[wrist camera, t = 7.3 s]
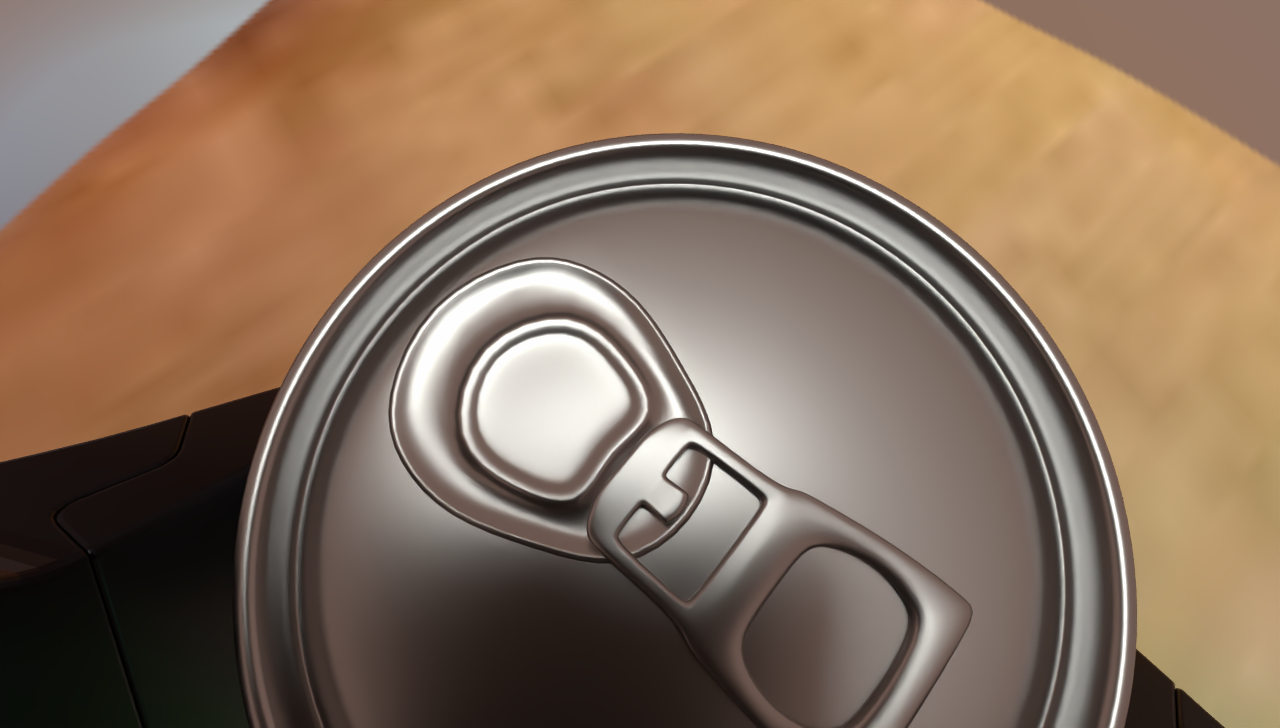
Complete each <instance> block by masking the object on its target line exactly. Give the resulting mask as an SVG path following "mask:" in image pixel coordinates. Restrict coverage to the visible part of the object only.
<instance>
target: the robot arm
mask: <svg viewBox="0 0 1280 728" xmlns="http://www.w3.org/2000/svg"><path fill="white" fill-rule="evenodd" d="M279 389H280V387H279V388H275V389H272V390H268V391H265V392H262V393H258V394H255V395H251V396H248V397H244V398H241V399H237V400H234V401H231V402H227V403H224V404H220V405H217V406H213V407H210V408H206V409H203V410H199V411H196V412H193V413H192V414H191V416H190V417H189V416H188V415H182V416H178V417H175V418H172V419H168V420H165V421H161V422H158V423H155V424H151V425H147V426H144V427H140V428H137V429H133V430H129V431H126V432H122V433H118V434H115V435H111V436H107V437H104V438H100V439H96V440H92V441H88V442H83V443H79V444H75V445H71V446H67V447H63V448H59V449H55V450H50V451H46V452H42V453H38V454H34V455H30V456H25V457H21V458H17V459H12V460H8V461H4V462H0V728H249V725H248V722H247V718H246V714H245V709H244V704H243V700H242V695H241V690H240V684H239V678H238V671H237V665H236V656H235V647H234V635H233V618H232V583H233V563H234V551H235V542H236V534H237V527H238V520H239V514H240V509H241V503H242V498H243V494H244V490H245V485H246V481H247V477H248V473H249V470H250V466H251V462H252V459H253V455H254V452H255V449H256V446H257V443H258V440H259V437H260V434H261V432H262V429H263V426H264V424H265V421H266V419H267V416H268V413H269V411H270V409H271V406H272V404H273V402H274V400H275V397H276V395H277V393H278V391H279ZM1124 728H1225V727H1223V726H1222V725H1221V724H1220V723H1219V722H1218V721H1217V720H1215V719H1214V718H1213V717H1212V716H1211V715H1210V714H1209V713H1208V712H1206V711H1205V710H1204V709H1203V708H1202V707H1201V706H1200V705H1199V704H1198V703H1196V702H1195V701H1194V700H1193V699H1192V698H1191V697H1190V696H1189V695H1188V694H1186V693H1185V692H1184V691H1183V690H1182V689H1179V688H1176V689H1175V684H1174V682H1173V681H1172V680H1171V679H1169V678H1168V677H1167V676H1166V675H1165V674H1164V673H1163V672H1162V671H1160V670H1159V669H1158V668H1157V667H1156V666H1155V665H1154V664H1153V663H1152V662H1150V661H1149V660H1148V659H1147V658H1146V657H1145V656H1144V655H1143V654H1141V653H1140V652H1139V651H1138V650H1137V649H1136V656H1135V666H1134V675H1133V684H1132V690H1131V696H1130V703H1129V708H1128V713H1127V718H1126V723H1125V727H1124Z"/></svg>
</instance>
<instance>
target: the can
mask: <svg viewBox="0 0 1280 728" xmlns="http://www.w3.org/2000/svg"><path fill="white" fill-rule="evenodd" d="M232 618H233V635H234V647H235V656H236V665H237V671H238V678H239V684H240V690H241V695H242V700H243V704H244V709H245V714H246V718H247V722H248V725H249V728H1124V727H1125V723H1126V718H1127V713H1128V708H1129V703H1130V696H1131V690H1132V684H1133V675H1134V666H1135V656H1136V639H1137V595H1136V579H1135V566H1134V558H1133V550H1132V542H1131V537H1130V531H1129V525H1128V519H1127V515H1126V510H1125V506H1124V501H1123V497H1122V493H1121V490H1120V486H1119V482H1118V478H1117V475H1116V472H1115V469H1114V465H1113V462H1112V459H1111V456H1110V453H1109V450H1108V448H1107V445H1106V442H1105V440H1104V437H1103V434H1102V432H1101V429H1100V427H1099V425H1098V422H1097V420H1096V417H1095V415H1094V413H1093V411H1092V409H1091V406H1090V404H1089V402H1088V400H1087V398H1086V396H1085V394H1084V392H1083V390H1082V388H1081V386H1080V384H1079V382H1078V380H1077V378H1076V377H1075V375H1074V373H1073V371H1072V370H1071V368H1070V366H1069V364H1068V363H1067V361H1066V359H1065V358H1064V356H1063V354H1062V353H1061V351H1060V350H1059V348H1058V347H1057V345H1056V343H1055V342H1054V340H1053V339H1052V338H1051V336H1050V335H1049V333H1048V332H1047V330H1046V329H1045V327H1044V326H1043V325H1042V323H1041V322H1040V321H1039V319H1038V318H1037V317H1036V315H1035V314H1034V313H1033V311H1032V310H1031V309H1030V308H1029V306H1028V305H1027V304H1026V303H1025V302H1024V300H1023V299H1022V298H1021V297H1020V296H1019V294H1018V293H1017V292H1016V291H1015V290H1014V289H1013V288H1012V286H1011V285H1010V284H1009V283H1008V282H1007V281H1006V280H1005V279H1004V278H1003V277H1002V275H1001V274H1000V273H999V272H998V271H997V270H996V269H995V268H994V267H993V266H992V265H991V264H990V263H989V262H988V261H987V260H985V259H984V258H983V257H982V256H981V255H980V254H979V253H978V252H977V251H976V250H975V249H974V248H972V247H971V246H970V245H969V244H968V243H967V242H965V241H964V240H963V239H962V238H961V237H960V236H958V235H957V234H956V233H955V232H953V231H952V230H951V229H949V228H948V227H947V226H946V225H944V224H943V223H942V222H940V221H939V220H937V219H936V218H935V217H933V216H932V215H931V214H929V213H928V212H926V211H925V210H923V209H922V208H920V207H919V206H917V205H916V204H914V203H913V202H911V201H909V200H908V199H906V198H904V197H903V196H901V195H899V194H898V193H896V192H894V191H892V190H890V189H889V188H887V187H885V186H883V185H881V184H879V183H877V182H875V181H873V180H871V179H869V178H867V177H865V176H863V175H861V174H859V173H857V172H854V171H852V170H850V169H847V168H845V167H843V166H840V165H838V164H835V163H833V162H830V161H827V160H825V159H822V158H819V157H816V156H813V155H810V154H807V153H803V152H800V151H797V150H793V149H790V148H786V147H782V146H778V145H774V144H769V143H764V142H759V141H754V140H748V139H742V138H736V137H727V136H719V135H706V134H684V133H671V134H645V135H634V136H625V137H617V138H610V139H604V140H599V141H593V142H588V143H584V144H579V145H575V146H571V147H567V148H563V149H560V150H556V151H553V152H550V153H546V154H543V155H540V156H537V157H534V158H532V159H529V160H526V161H523V162H521V163H518V164H516V165H513V166H511V167H509V168H506V169H504V170H501V171H499V172H497V173H495V174H493V175H491V176H489V177H487V178H484V179H482V180H481V181H479V182H477V183H475V184H473V185H471V186H469V187H467V188H466V189H464V190H462V191H460V192H459V193H457V194H455V195H454V196H452V197H450V198H449V199H447V200H446V201H444V202H442V203H441V204H439V205H438V206H436V207H435V208H433V209H432V210H430V211H429V212H428V213H426V214H425V215H423V216H422V217H421V218H419V219H418V220H417V221H415V222H414V223H413V224H411V225H410V226H409V227H408V228H406V229H405V230H404V231H402V232H401V233H400V234H399V235H398V236H397V237H395V238H394V239H393V240H392V241H391V242H390V243H388V244H387V245H386V246H385V247H384V248H383V249H382V250H381V251H380V252H379V253H378V254H377V255H375V256H374V257H373V258H372V259H371V260H370V261H369V262H368V263H367V264H366V265H365V266H364V267H363V269H362V270H361V271H360V272H359V273H358V274H357V275H356V276H355V277H354V278H353V279H352V280H351V282H350V283H349V284H348V285H347V286H346V287H345V288H344V290H343V291H342V292H341V293H340V294H339V296H338V297H337V298H336V299H335V301H334V302H333V303H332V304H331V306H330V307H329V308H328V310H327V311H326V312H325V314H324V315H323V316H322V318H321V319H320V321H319V322H318V323H317V325H316V326H315V328H314V329H313V331H312V332H311V334H310V335H309V337H308V338H307V340H306V342H305V343H304V345H303V347H302V348H301V350H300V351H299V353H298V355H297V356H296V358H295V360H294V362H293V364H292V365H291V367H290V369H289V371H288V373H287V375H286V377H285V379H284V381H283V383H282V385H281V387H280V389H279V391H278V393H277V395H276V397H275V400H274V402H273V404H272V406H271V409H270V411H269V413H268V416H267V419H266V421H265V424H264V426H263V429H262V432H261V434H260V437H259V440H258V443H257V446H256V449H255V452H254V455H253V459H252V462H251V466H250V470H249V473H248V477H247V481H246V485H245V490H244V494H243V498H242V503H241V509H240V514H239V520H238V527H237V534H236V542H235V551H234V563H233V583H232Z"/></svg>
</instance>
